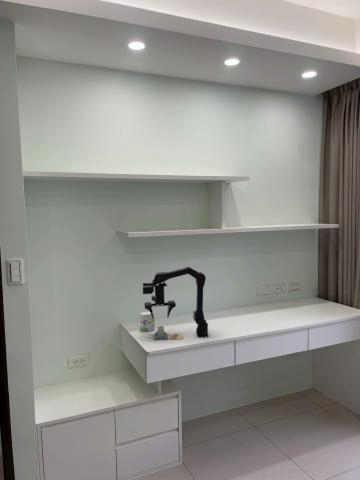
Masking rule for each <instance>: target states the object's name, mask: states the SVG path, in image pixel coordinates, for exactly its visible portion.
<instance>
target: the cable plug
mask: <svg viewBox="0 0 360 480" xmlns="http://www.w3.org/2000/svg"><path fill="white" fill-rule="evenodd" d="M156 332H157V336H165V335H164V332H165V327H164V326H161V325H159V326H157V330H156Z"/></svg>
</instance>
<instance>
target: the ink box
mask: <svg viewBox="0 0 360 480" xmlns="http://www.w3.org/2000/svg"><path fill="white" fill-rule="evenodd" d="M155 320H156V318H155V312H153V319H152V316H151V313H150V311H144V312H140V313H139V321H140V322H139V324H140V325H139V326H140V328H139V329H140V332H142V333H147V332H154V331H155V330H156V328H155V327H156V325H155V324H156V323H155ZM155 332H156V331H155Z"/></svg>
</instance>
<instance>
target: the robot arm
mask: <svg viewBox="0 0 360 480" xmlns="http://www.w3.org/2000/svg"><path fill="white" fill-rule="evenodd" d="M184 275H185V276H186V275H189V276H191V277H192V278H194V279H195V285H196V302H195V303H196V304H195V305H196V306H195V310H193V313H192V315H193V316H192V318H193V320H194V323H195V324H196V326H197V327H196V328H195V330H196V331H195V333H196V336H197V337H198V338H209V324H208V322H207V320H206V319H205V314H204V287H205V284H206V279H207V278H206V275H205V274H204V273H203V272H202V271H198V270H195V269H193V268H192V267H191V266H186V267H183V268H179V269H176V270H171V271H166V272H165V271H161V272H156V273H155V274H154V278H153V280H152V281H151V282H143V283H142V294H143V295H151V296H150V297H151V298H150V299H151V301H152V302H153V303H152V302H151V301H148V302H147V301H146V302H144V304H143V305H144V309H145V310H147V311H148V312H150V313H151V316H152V319H153V313H154V312H153V307H155V308H156V307H165V306H166V307H167V313H166V315H167V316H166V318H167V319H169V317H170V315H171V311H172V310H173V309H174V308H176V306H177V303H176V302H175V300H168V301H167V302H165V287H168V283H166V281H168V280H170V279H174V278H178V277H181V276H184ZM153 293H154V295H152V294H153Z"/></svg>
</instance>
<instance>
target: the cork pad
mask: <svg viewBox="0 0 360 480" xmlns="http://www.w3.org/2000/svg"><path fill="white" fill-rule="evenodd" d="M167 337H168V341H169V340H184V336H183V333H167Z"/></svg>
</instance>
